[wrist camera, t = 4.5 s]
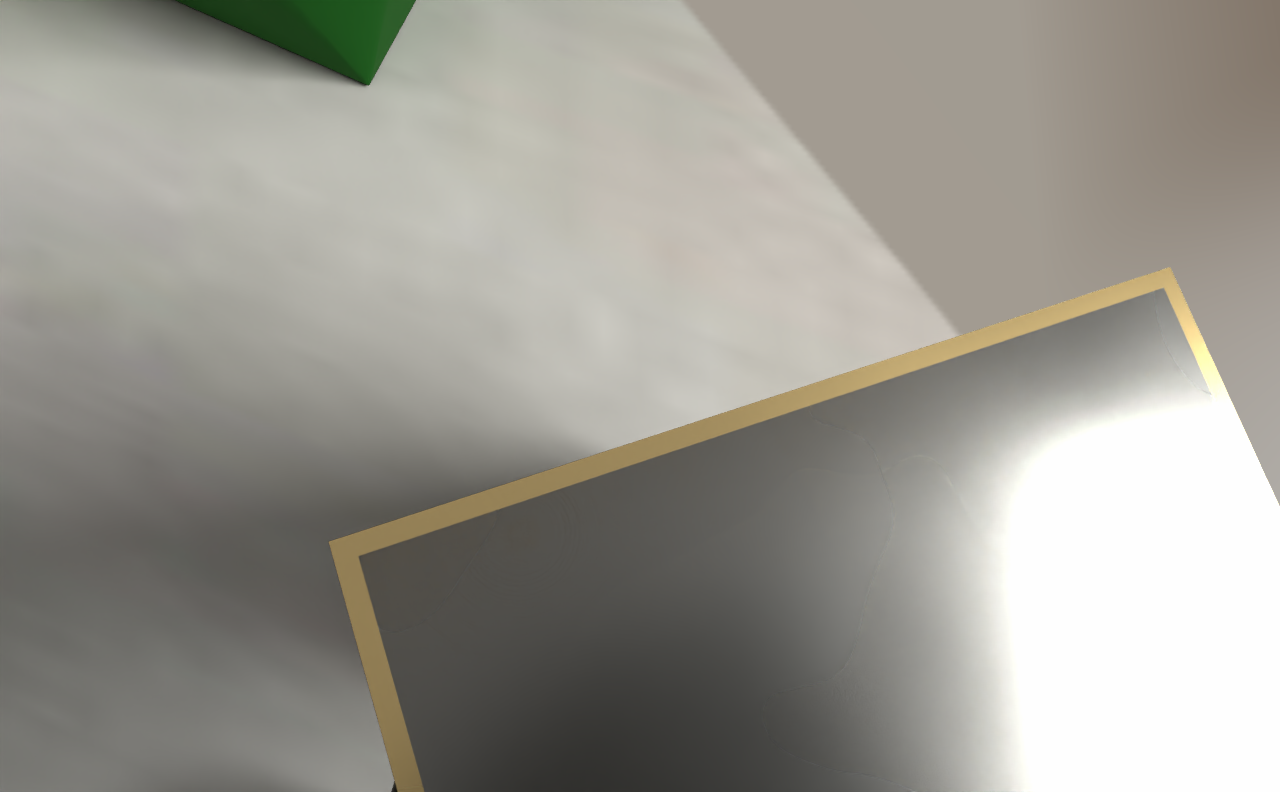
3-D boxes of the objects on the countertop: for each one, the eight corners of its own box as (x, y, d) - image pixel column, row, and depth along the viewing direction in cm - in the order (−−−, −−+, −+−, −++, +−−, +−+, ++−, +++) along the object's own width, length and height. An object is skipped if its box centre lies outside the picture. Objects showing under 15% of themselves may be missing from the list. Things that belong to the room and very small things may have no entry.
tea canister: (749, 667, 16) (1570, 1146, 4) (548, 750, 15) (685, 1837, 3) (680, 468, 17) (1169, 266, 4) (482, 535, 16) (329, 540, 3)
